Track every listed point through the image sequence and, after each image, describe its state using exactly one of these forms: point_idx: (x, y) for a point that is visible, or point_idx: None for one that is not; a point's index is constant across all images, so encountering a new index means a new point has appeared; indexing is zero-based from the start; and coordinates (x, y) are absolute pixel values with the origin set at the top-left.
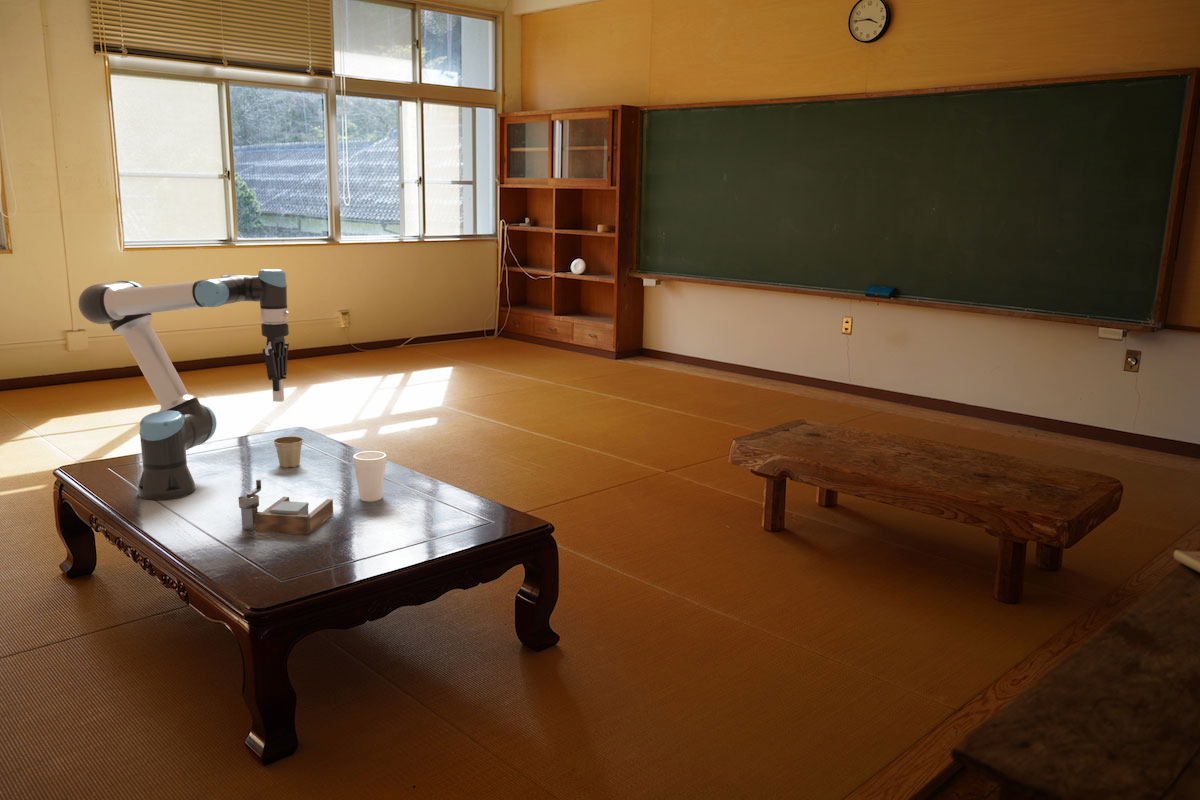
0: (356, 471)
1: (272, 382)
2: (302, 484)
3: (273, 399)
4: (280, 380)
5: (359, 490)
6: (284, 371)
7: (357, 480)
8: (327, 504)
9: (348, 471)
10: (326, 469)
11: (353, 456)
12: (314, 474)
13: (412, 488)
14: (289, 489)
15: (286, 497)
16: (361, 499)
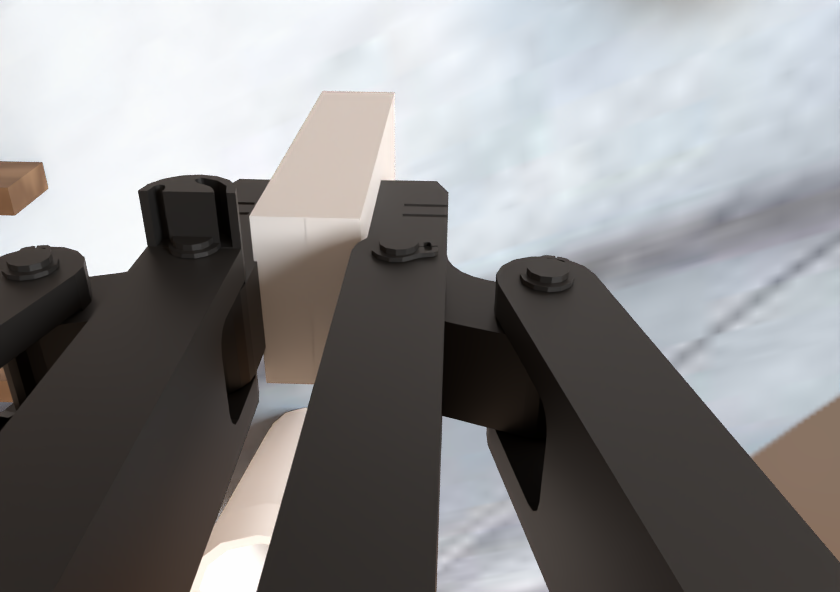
0: (236, 499)
1: (260, 200)
2: (456, 89)
3: (317, 104)
4: (268, 372)
5: (267, 441)
6: (498, 468)
7: (256, 466)
8: (4, 400)
9: (718, 244)
10: (762, 115)
11: (233, 540)
12: (656, 83)
13: (466, 546)
14: (355, 53)
15: (2, 206)
16: (277, 420)
